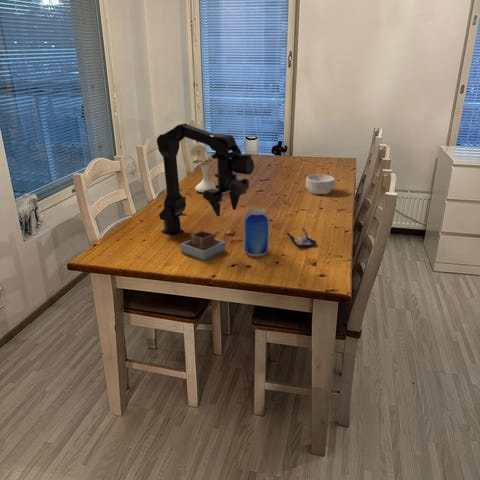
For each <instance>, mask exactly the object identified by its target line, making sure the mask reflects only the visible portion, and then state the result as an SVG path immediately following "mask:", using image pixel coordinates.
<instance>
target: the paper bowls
mask: <svg viewBox="0 0 480 480" xmlns="http://www.w3.org/2000/svg"><path fill="white" fill-rule="evenodd" d="M335 186H336V178H335V177H334V176H331V175H328V174H310V175H307V176H306V178H305V188H306V189H308V190H309V192H310V193H311V194H314V195H318V194H324V195H327V194H330V193H331V190H334V189H335V188H336V187H335Z"/></svg>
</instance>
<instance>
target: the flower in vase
mask: <svg viewBox="0 0 480 480" xmlns="http://www.w3.org/2000/svg"><path fill="white" fill-rule="evenodd" d="M206 152H207V151H206V146H204V145H202V144H195V145H193V146H192V147H191V150H190V153H191V155H192V156H193V157H196V158H197V157H198V158H199V159H194V160H193V161H192V164H196V165H197V164H200V163H201V165H199V166H200V169H201V171H202V177H203V178H202V180H201V182H199V183H198V184H197V185H196V186H195V188H194V189H195V191H196V192H199V193H203V192H204V191H205V190H209V189H215V190H217V188H216V187H215V185H216V184H214V183H213V182H212V181H210V180H209V178H208V170H209V168H210V165H208V163H209V161H210V158H208V159H206V160H204V161H203V162H202V161H201V158H200V157H203V156H204V155H205V154H206Z"/></svg>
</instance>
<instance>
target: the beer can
mask: <svg viewBox="0 0 480 480" xmlns="http://www.w3.org/2000/svg"><path fill="white" fill-rule="evenodd" d="M246 212H247V213H246V214H245V215H244V252H246V254H247V255H248V256H250V257H253V258H255V257H256V258H260V257H264V256H265V255H266V254H267V252H268V251H269V216H268V214H267V213H266V212H267V211H266V209H264V208H260V207H259V208H255V207H254V208H250V209H248V210H246Z"/></svg>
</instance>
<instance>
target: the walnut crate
mask: <svg viewBox="0 0 480 480" xmlns="http://www.w3.org/2000/svg"><path fill="white" fill-rule="evenodd" d="M215 239H216V238H215V234H214V233H211V232H208V231H205V230H200V231H197V232H196V233H193V234H190V240H191V247H194V248H197V249H200V250H203V251H204V250H206V249H208V248H210V247H212V246H215Z"/></svg>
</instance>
